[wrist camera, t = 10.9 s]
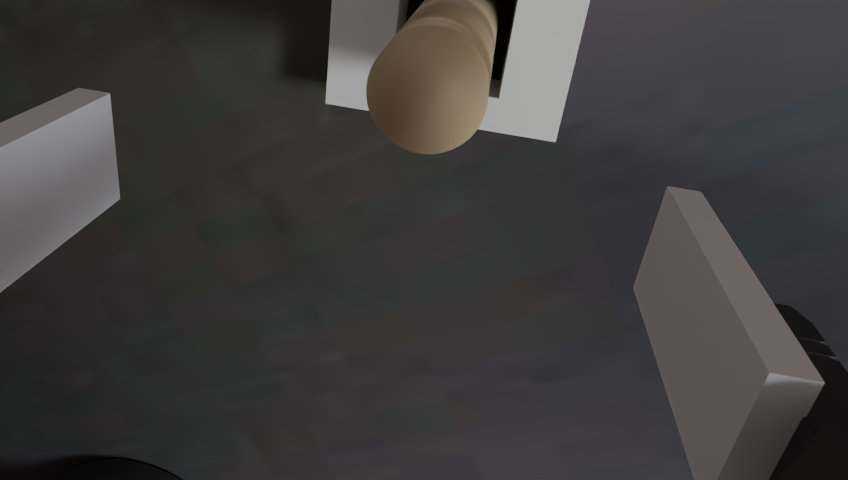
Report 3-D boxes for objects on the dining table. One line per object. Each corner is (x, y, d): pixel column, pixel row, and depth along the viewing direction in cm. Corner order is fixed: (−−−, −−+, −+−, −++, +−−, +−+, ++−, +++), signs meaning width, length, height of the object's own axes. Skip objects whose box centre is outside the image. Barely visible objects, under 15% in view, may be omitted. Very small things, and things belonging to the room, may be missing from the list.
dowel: (418, 50, 36) (361, 143, 22) (428, -29, 34) (371, 23, 21) (491, 62, 35) (477, 163, 22) (505, -17, 33) (498, 43, 20)
